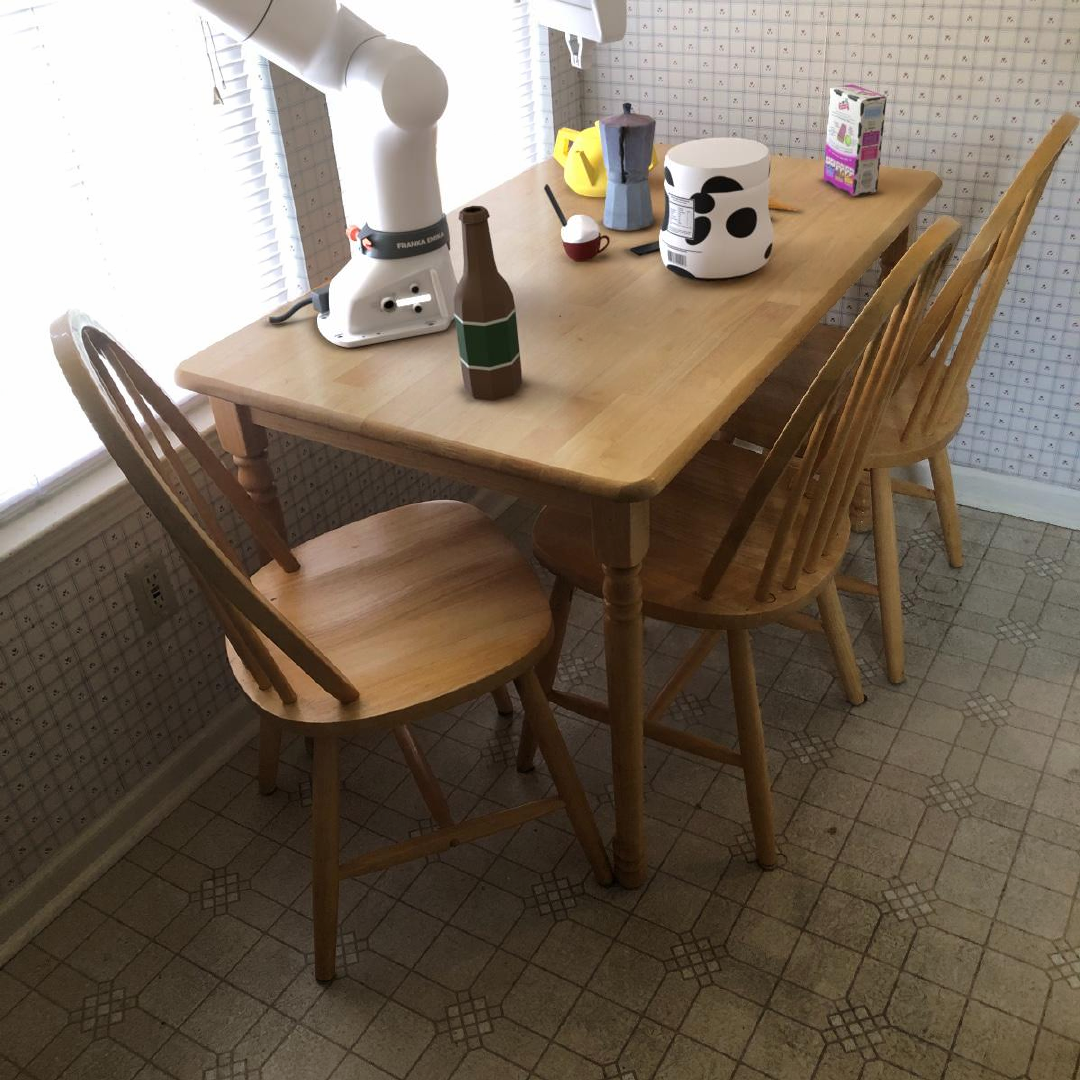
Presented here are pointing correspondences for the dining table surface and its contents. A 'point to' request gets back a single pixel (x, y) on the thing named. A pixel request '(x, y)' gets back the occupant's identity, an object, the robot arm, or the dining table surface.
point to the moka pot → (627, 169)
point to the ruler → (647, 248)
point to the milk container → (716, 209)
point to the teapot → (585, 160)
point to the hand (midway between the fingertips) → (581, 67)
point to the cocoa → (578, 233)
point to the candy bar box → (854, 139)
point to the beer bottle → (485, 315)
